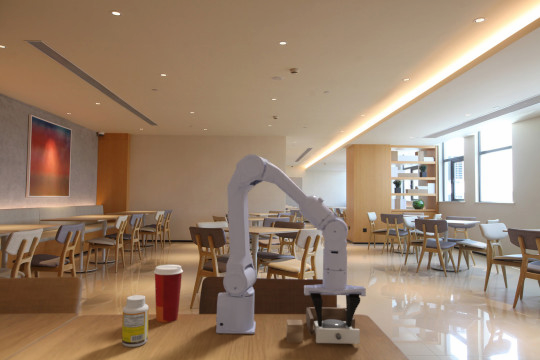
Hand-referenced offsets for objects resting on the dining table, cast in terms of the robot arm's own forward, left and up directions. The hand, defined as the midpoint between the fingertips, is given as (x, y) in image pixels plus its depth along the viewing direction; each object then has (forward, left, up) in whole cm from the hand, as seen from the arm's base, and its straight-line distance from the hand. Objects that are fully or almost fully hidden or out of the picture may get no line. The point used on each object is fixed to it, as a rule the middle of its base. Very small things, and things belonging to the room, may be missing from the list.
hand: (334, 325), depth 90 cm
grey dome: (0, 0, -2) cm, 2 cm away
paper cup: (-43, +12, -3) cm, 45 cm away
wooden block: (-9, -1, -3) cm, 10 cm away
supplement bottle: (-46, -4, -3) cm, 46 cm away
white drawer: (0, -1, -2) cm, 2 cm away
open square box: (0, +6, -3) cm, 7 cm away
